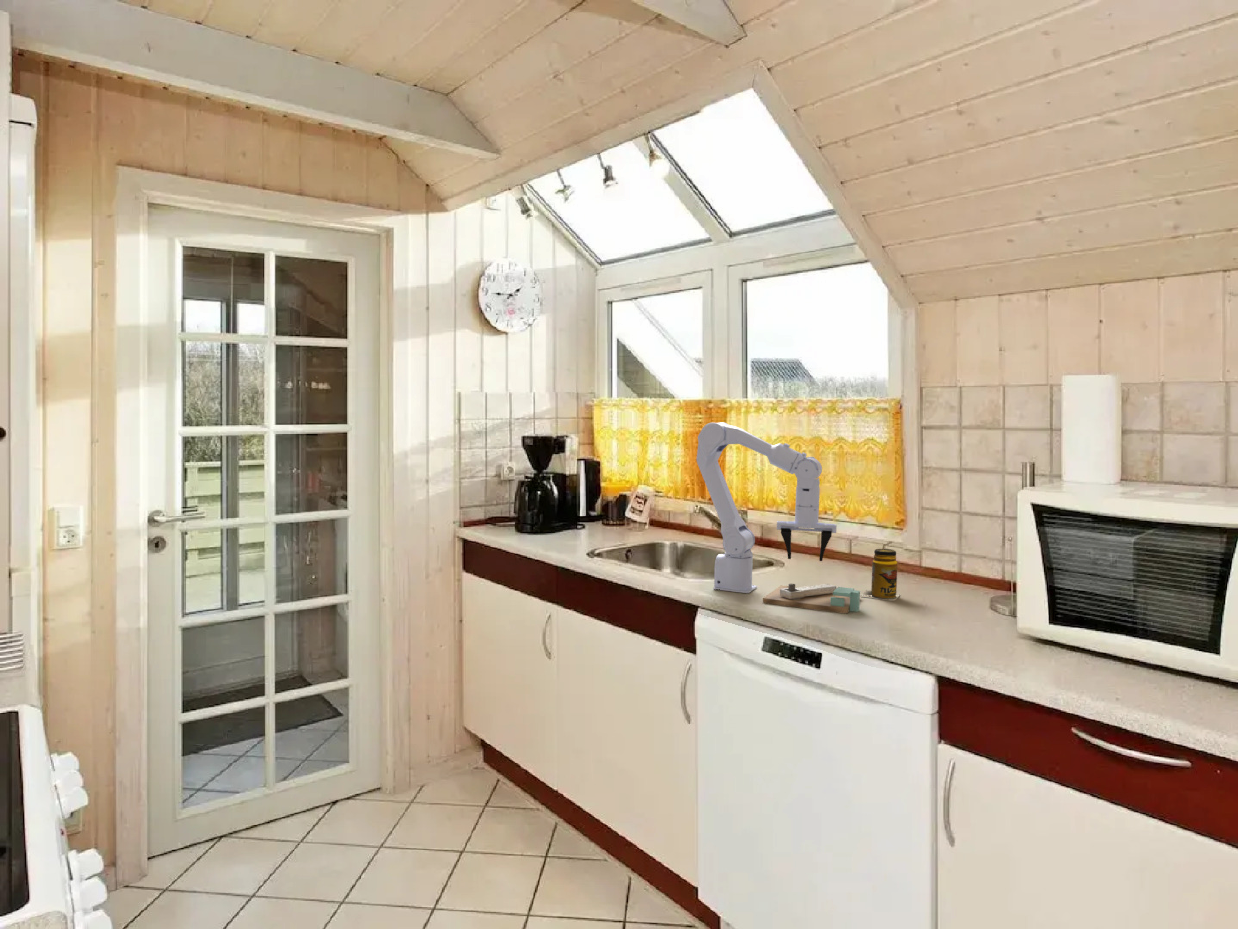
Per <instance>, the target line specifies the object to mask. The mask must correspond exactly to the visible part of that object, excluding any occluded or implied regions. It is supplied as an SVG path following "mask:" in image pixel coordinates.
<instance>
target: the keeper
mask: <svg viewBox="0 0 1238 929" xmlns="http://www.w3.org/2000/svg"><path fill="white" fill-rule="evenodd" d="M833 595H836V596H845V597H850V610H849V612H854V613H855V612H857V613H858V612H859V610H860V605H861V604H860V602H861V601H860V600H861V597H860V596H861V590H855V588H852V587H843V586H837V587H836V589H835V590H834V591H833ZM844 601H845V598H837V597H831V604H830V605H832V606H840V607H844Z"/></svg>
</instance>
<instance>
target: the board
mask: <svg viewBox="0 0 1238 929" xmlns="http://www.w3.org/2000/svg"><path fill="white" fill-rule="evenodd" d="M797 587H798V586H796V583H788V585H783V584H782V585H779V586H778V587H775V589H774V590H772V591H770V592H769V593H768V594H766V595H765V596H764V597H763V598H762V604H767V603H769V605H776V606H784V607H785V606H786V607H792V608H793V607H794V608H801V609H808V610H815V611H823V612H830V613H831V612H832V613H833V612H834V613H839V614H846V613H847V614H848V613H849V612H850V597H845V596H836V595H833V593H828V594H821V595H813V596H805V597H802V598H795V599H789V598H786V597H783V596H780V589H784V588H788V591H790V592H793V591H795V588H797ZM831 597H837V598H845V601H844V607H840V606H832V605H830V604H831Z"/></svg>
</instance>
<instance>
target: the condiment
mask: <svg viewBox="0 0 1238 929" xmlns="http://www.w3.org/2000/svg"><path fill="white" fill-rule="evenodd" d="M871 566H872V567H871V590H868V589H867V590H865V591H864V592H863V593H862V594H861V595H862V596H861V595H860V598H861V597H862V598H869V599H876V600H883V601H891V602H895V601H896V600H897V599H899V597H900V594H897V591H898V590H897V588H898V587H897V584H898V561H897V551H896V550H895V549H890V548H876V549H874V555H873V560H872V564H871ZM863 595H865V596H863ZM867 595H872V597H869V596H867ZM873 597H874V598H873Z"/></svg>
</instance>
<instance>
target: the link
mask: <svg viewBox="0 0 1238 929" xmlns="http://www.w3.org/2000/svg"><path fill="white" fill-rule="evenodd" d="M796 587H797V588H795V591H793V592H790V591H788V588H784V589H780V596H783V597H786V598H789V599H795V598H802V597H805V596H813V595H821V594H828V593H833V591H834V590H835V589H836V588H837V585H834V584H830V583H822V584H816V585H806V586H799V587H798V586H796Z"/></svg>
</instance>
